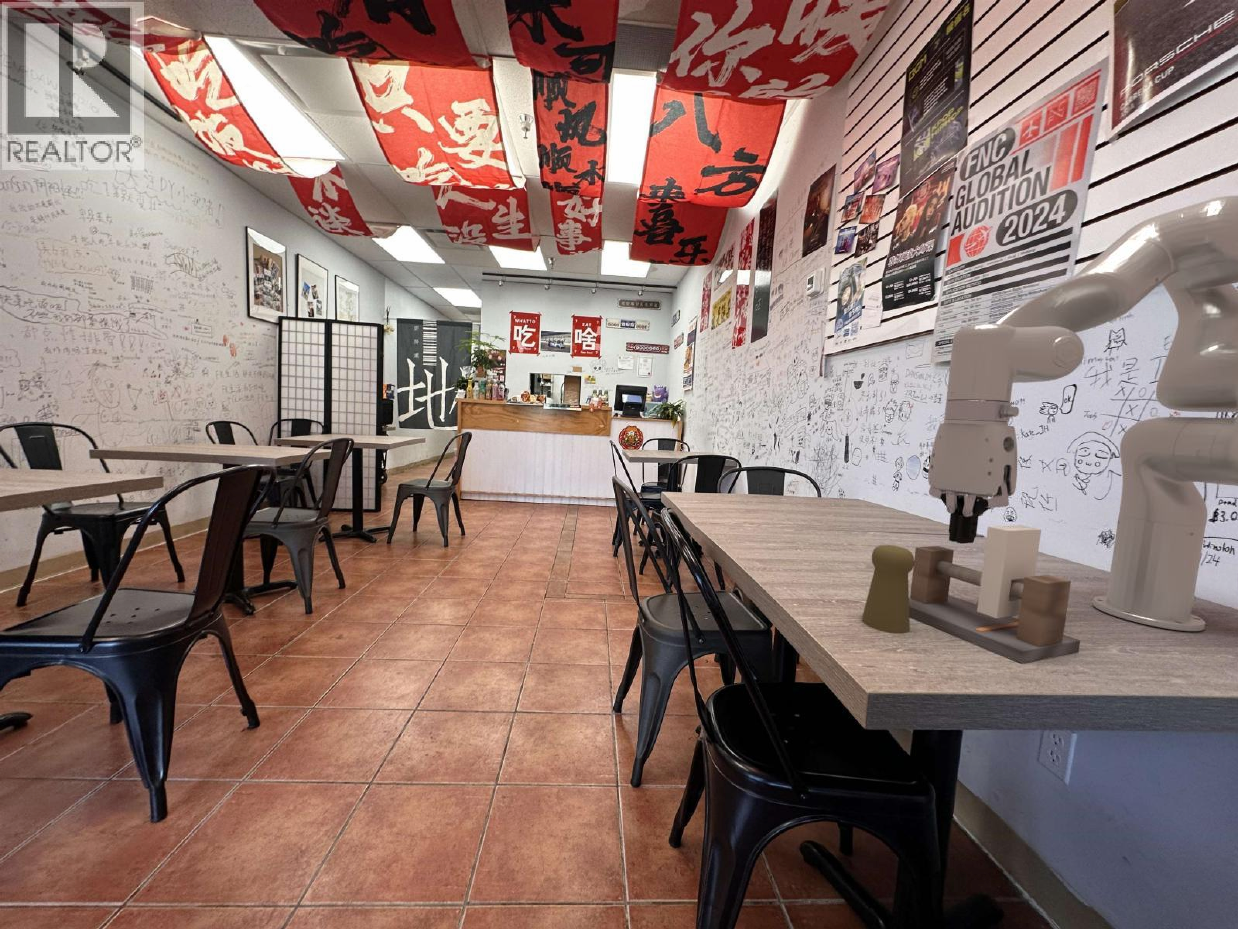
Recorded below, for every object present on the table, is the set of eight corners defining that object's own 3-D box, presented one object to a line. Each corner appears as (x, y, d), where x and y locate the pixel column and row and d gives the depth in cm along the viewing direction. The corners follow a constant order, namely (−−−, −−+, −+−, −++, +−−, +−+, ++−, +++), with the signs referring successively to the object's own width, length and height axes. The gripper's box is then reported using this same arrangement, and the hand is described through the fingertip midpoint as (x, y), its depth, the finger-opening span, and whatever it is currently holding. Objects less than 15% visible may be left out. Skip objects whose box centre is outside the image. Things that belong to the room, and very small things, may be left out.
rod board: (944, 603, 84) (951, 544, 83) (1078, 651, 67) (1089, 579, 67) (891, 609, 79) (898, 547, 78) (1021, 663, 63) (1031, 586, 62)
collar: (1009, 606, 73) (1020, 525, 72) (1029, 613, 70) (1041, 529, 69) (977, 611, 70) (987, 526, 69) (996, 618, 68) (1008, 530, 67)
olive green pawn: (914, 636, 69) (924, 554, 68) (864, 628, 71) (872, 548, 70) (905, 620, 75) (914, 545, 74) (859, 613, 77) (867, 539, 76)
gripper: (1052, 417, 69) (1034, 554, 70) (943, 415, 82) (930, 529, 84) (1016, 414, 66) (999, 557, 68) (909, 412, 80) (897, 531, 81)
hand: (961, 541), depth 76 cm, fingers closed
